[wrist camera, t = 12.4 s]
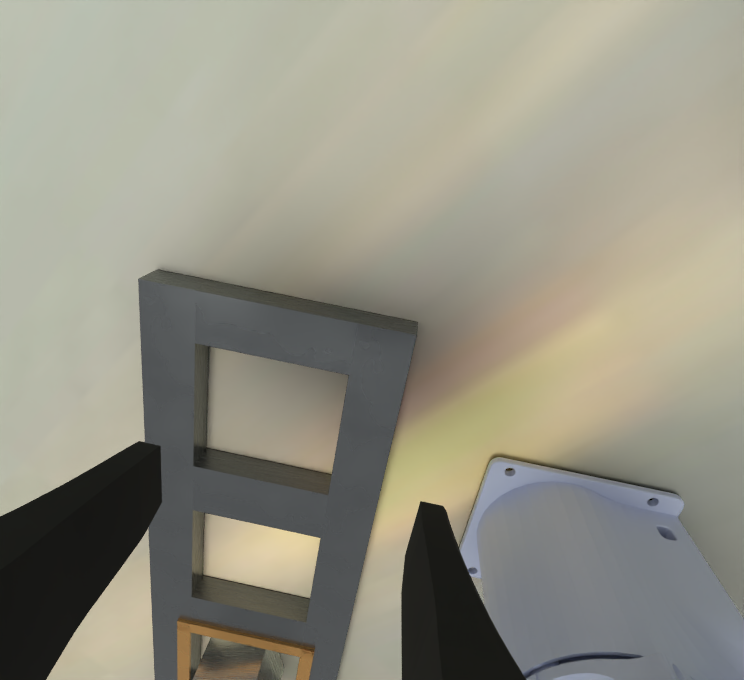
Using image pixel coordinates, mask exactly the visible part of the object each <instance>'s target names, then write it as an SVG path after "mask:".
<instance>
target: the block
mask: <svg viewBox="0 0 744 680" xmlns="http://www.w3.org/2000/svg"><path fill="white" fill-rule="evenodd" d="M283 670H284V666H283V662H282V659H281V656H280V653H279V652H275V651H271V650H267V649H262V648H258V647H253V646H249V645H244V644H240V643H235V642H231V641H226V640H222V639H218V638H213V637H211V638H210V641H209V643H208V645H207V648H206V650H205V652H204V655H203V657H202V659H201V661H200V664H199V666H198V668H197V671H196V673H195V675H194V678H193V680H281V677H282V674H283Z"/></svg>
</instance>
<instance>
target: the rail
mask: <svg viewBox="0 0 744 680" xmlns="http://www.w3.org/2000/svg"><path fill="white" fill-rule="evenodd" d="M138 282H139V306H140V331H141V355H142V379H143V404H144V428H145V443H150V444H155V445H159V446H161V480H162V503H161V505H160V507H159V509H158V511H157V513H156V514H155V516H154V518H153V520H152V522H151V524H150V525H149V550H150V574H151V598H152V622H153V647H154V671H155V680H193V678H194V675H195V673H196V671H197V668H198V666H199V664H200V655H201V635H204V636H209V637H213V638H218V639H222V640H226V641H231V642H235V643H240V644H244V645H249V646H253V647H258V648H262V649H267V650H271V651H275V652H280V653H284V654H289V655H293V656H298V657H300V660H299V665H298V671H297V677H296V680H336V679H337V674H338V670H339V666H340V662H341V657H342V653H343V649H344V644H345V640H346V636H347V632H348V627H349V623H350V619H351V615H352V610H353V606H354V602H355V597H356V593H357V589H358V585H359V580H360V576H361V572H362V567H363V563H364V559H365V555H366V550H367V546H368V542H369V538H370V533H371V529H372V525H373V520H374V516H375V512H376V508H377V503H378V499H379V495H380V491H381V486H382V482H383V478H384V473H385V469H386V465H387V461H388V456H389V452H390V448H391V444H392V439H393V435H394V431H395V426H396V422H397V418H398V414H399V409H400V405H401V401H402V397H403V392H404V388H405V384H406V379H407V375H408V371H409V367H410V362H411V358H412V354H413V350H414V345H415V341H416V337H417V323H418V322H414V321H409V320H404V319H400V318H395V317H390V316H385V315H380V314H375V313H370V312H365V311H360V310H355V309H350V308H345V307H340V306H335V305H330V304H325V303H320V302H315V301H310V300H306V299H301V298H296V297H291V296H286V295H281V294H276V293H271V292H266V291H261V290H256V289H251V288H246V287H241V286H236V285H231V284H226V283H221V282H217V281H212V280H207V279H202V278H197V277H192V276H187V275H182V274H177V273H172V272H167V271H162V270H155V271H153V272H151V273H149V274H147V275H145V276H143V277H141V278H139V279H138ZM209 346H211V347H215V348H220V349H225V350H230V351H235V352H240V353H244V354H249V355H254V356H259V357H264V358H269V359H274V360H278V361H283V362H288V363H293V364H298V365H303V366H307V367H312V368H317V369H322V370H327V371H332V372H337V373H341V374H346V375H349V378H348V384H347V390H346V395H345V401H344V407H343V413H342V419H341V424H340V430H339V436H338V442H337V447H336V453H335V459H334V465H333V471H332V475H330V474H325V473H321V472H316V471H311V470H307V469H302V468H297V467H293V466H288V465H283V464H278V463H274V462H269V461H264V460H260V459H255V458H250V457H246V456H241V455H236V454H232V453H227V452H222V451H217V450H213V449H208V448H206V433H207V396H208V359H209ZM204 513H208V514H213V515H217V516H222V517H227V518H231V519H236V520H240V521H245V522H250V523H254V524H259V525H264V526H268V527H273V528H277V529H282V530H287V531H291V532H296V533H300V534H305V535H310V536H314V537H319V538H321V540H320V546H319V551H318V557H317V563H316V569H315V574H314V580H313V586H312V592H311V597H310V599H307V598H302V597H298V596H293V595H289V594H284V593H280V592H275V591H271V590H266V589H262V588H257V587H253V586H248V585H244V584H239V583H235V582H230V581H225V580H221V579H216V578H212V577H207V576H203V544H204Z"/></svg>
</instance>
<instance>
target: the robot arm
mask: <svg viewBox="0 0 744 680" xmlns="http://www.w3.org/2000/svg"><path fill="white" fill-rule="evenodd" d="M507 468H513V470H511V471H506V469H507ZM651 498H654V499H653V500H650V501H648V500H649V499H651ZM161 503H162V480H161V446H159V445H155V444H150V443H145V442H140V441H139V442H137V443H135V444H133V445H131V446H130V447H128V448H126V449H124V450H123V451H121V452H119V453H118V454H116V455H114V456H112V457H111V458H109V459H107V460H106V461H104V462H102V463H100V464H99V465H97V466H95V467H94V468H92V469H90V470H88V471H86V472H85V473H83V474H81V475H79V476H78V477H76V478H74V479H72V480H71V481H69V482H67V483H65V484H63V485H62V486H60V487H58V488H56V489H54V490H52V491H50V492H48V493H46V494H44V495H42V496H40V497H39V498H37V499H35V500H33V501H31V502H29V503H27V504H25V505H23V506H21V507H19V508H17V509H15V510H13V511H11V512H9V513H7V514H5V515H3V516H0V680H46V679H47V677H48V675H49V674H50V672H51V670H52V669H53V667H54V665H55V664H56V662H57V660H58V659H59V657H60V655H61V654H62V652H63V650H64V649H65V647H66V645H67V644H68V642H69V640H70V639H71V637H72V636H73V634H74V632H75V631H76V629H77V628H78V626H79V625H80V624H81V622H82V621H83V619H84V618H85V616H86V615H87V613H88V612H89V611H90V609H91V608H92V606H93V605H94V604H95V602H96V601H97V600H98V598H99V597H100V596H101V594H102V593H103V591H104V590H105V589H106V587H107V586H108V585H109V583H110V582H111V580H112V579H113V578H114V576H115V575H116V574H117V572H118V571H119V570H120V568H121V567H122V565H123V564H124V563H125V561H126V560H127V558H128V557H129V556H130V554H131V553H132V552H133V550H134V549H135V547H136V546H137V545H138V543H139V542H140V540H141V539H142V537H143V536H144V534H145V532H146V531H147V529H148V527H149V525H150V524H151V522H152V520H153V518H154V516H155V514H156V513H157V511H158V509H159V507H160V505H161ZM683 508H684V502H683V500H682V499H681V497H680V496H679V495H677V494H674V493H669V492H664V491H659V490H655V489H650V488H645V487H640V486H636V485H631V484H626V483H621V482H616V481H612V480H607V479H602V478H597V477H593V476H588V475H583V474H578V473H574V472H569V471H564V470H559V469H554V468H550V467H545V466H540V465H535V464H531V463H526V462H521V461H516V460H511V459H507V458H502V457H497V458H494V459H492V460H491V461H490V462H489V465H488V467H487V470H486V473H485V476H484V479H483V482H482V485H481V487H480V490H479V493H478V496H477V499H476V502H475V505H474V507H473V510H472V513H471V516H470V519H469V522H468V524H467V527H466V530H465V533H464V536H463V539H462V542H461V544H460V547H458V545H457V542H456V539H455V536H454V534H453V531H452V528H451V525H450V522H449V519H448V515H447V512H446V510H445V508H444V507H443V506H440V505H436V504H431V503H426V502H422V501H421V502H420V505H419V509H418V512H417V516H416V519H415V523H414V526H413V530H412V533H411V537H410V540H409V544H408V547H407V551H406V554H405V563H404V573H403V583H402V680H744V618H743V617H742V615H741V614H740V612H739V611H738V609H737V608H736V606H735V604H734V603H733V601H732V600H731V598H730V597H729V595H728V594H727V592H726V591H725V589H724V588H723V586H722V584H721V583H720V581H719V580H718V578H717V577H716V575H715V574H714V572H713V571H712V569H711V568H710V566H709V565H708V563H707V561H706V560H705V558H704V557H703V555H702V554H701V552H700V551H699V549H698V548H697V546H696V545H695V543H694V542H693V540H692V538H691V537H690V535H689V534H688V532H687V531H686V529H685V528H684V526H683V525H682V523H681V522H680V520H679V518H678V516H679V515H680V513H681V511H682V510H683ZM471 567H474V568H471ZM471 577H476V578H481V579H482V587H483V596H484V604H485V606H484V604H483V602H482V600H481V598H480V596H479V594H478V592H477V590H476V587H475V585H474V583H473V581H472V578H471Z"/></svg>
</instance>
